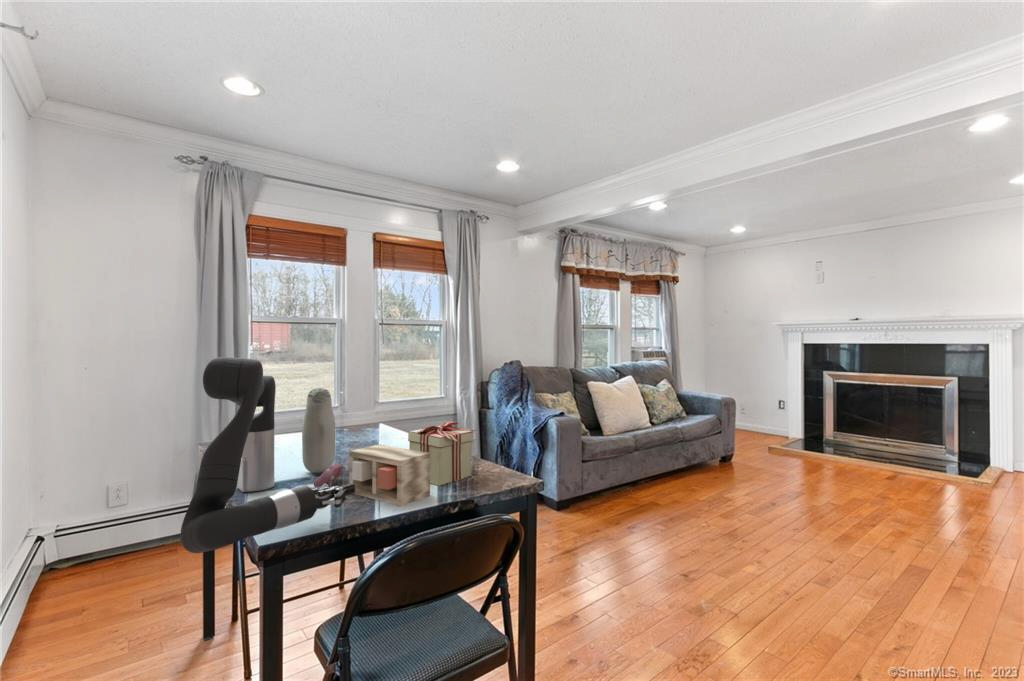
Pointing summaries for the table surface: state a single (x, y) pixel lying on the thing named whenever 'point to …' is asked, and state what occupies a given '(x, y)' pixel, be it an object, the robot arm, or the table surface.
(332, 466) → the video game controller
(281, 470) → the table surface
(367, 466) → the off-white plug
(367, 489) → the box
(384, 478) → the rust-red plug
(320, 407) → the off-white bottle
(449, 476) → the gift box
